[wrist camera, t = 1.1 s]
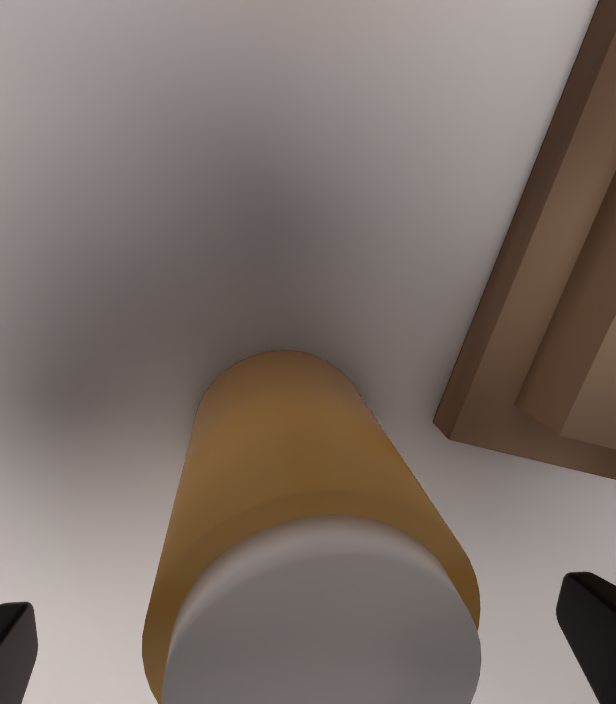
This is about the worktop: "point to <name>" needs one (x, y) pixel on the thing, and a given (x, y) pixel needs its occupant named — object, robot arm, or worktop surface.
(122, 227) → the worktop surface
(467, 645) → the amber jar
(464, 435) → the walnut plinth
